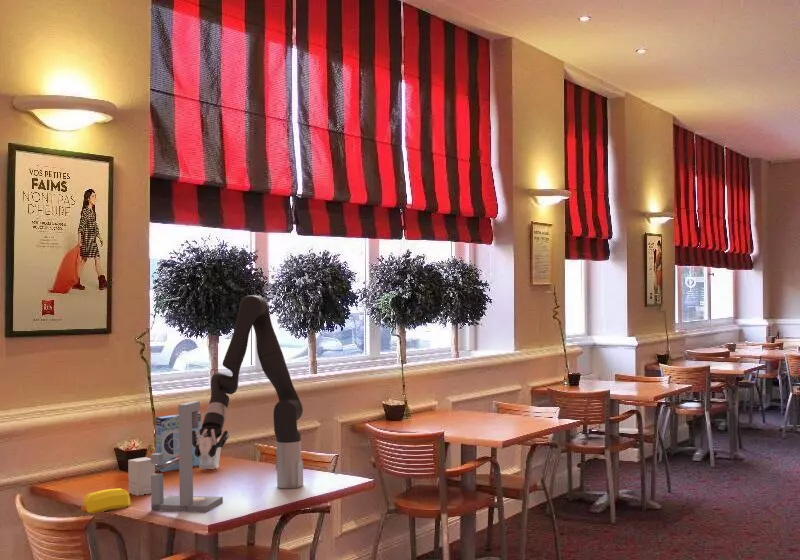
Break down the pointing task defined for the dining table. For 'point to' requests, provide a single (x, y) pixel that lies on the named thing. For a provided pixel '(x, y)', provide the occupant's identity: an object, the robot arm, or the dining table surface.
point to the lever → (167, 464)
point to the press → (182, 469)
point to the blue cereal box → (172, 440)
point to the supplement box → (140, 475)
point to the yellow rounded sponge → (105, 500)
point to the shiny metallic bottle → (205, 452)
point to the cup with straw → (216, 456)
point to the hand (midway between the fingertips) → (204, 455)
